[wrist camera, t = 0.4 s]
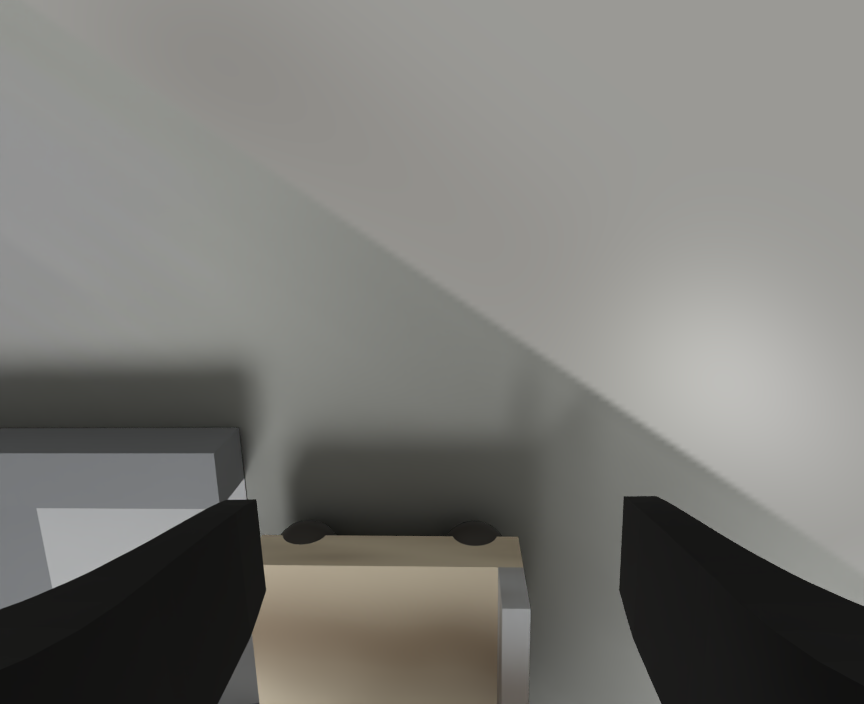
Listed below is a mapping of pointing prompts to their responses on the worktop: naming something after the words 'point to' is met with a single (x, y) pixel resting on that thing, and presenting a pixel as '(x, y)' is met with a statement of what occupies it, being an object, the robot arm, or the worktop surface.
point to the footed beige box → (392, 618)
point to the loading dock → (108, 504)
